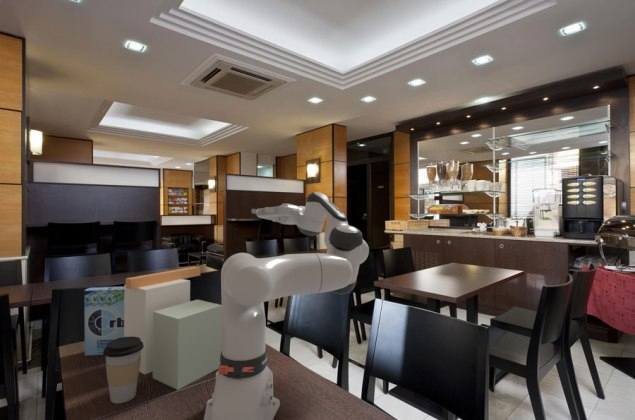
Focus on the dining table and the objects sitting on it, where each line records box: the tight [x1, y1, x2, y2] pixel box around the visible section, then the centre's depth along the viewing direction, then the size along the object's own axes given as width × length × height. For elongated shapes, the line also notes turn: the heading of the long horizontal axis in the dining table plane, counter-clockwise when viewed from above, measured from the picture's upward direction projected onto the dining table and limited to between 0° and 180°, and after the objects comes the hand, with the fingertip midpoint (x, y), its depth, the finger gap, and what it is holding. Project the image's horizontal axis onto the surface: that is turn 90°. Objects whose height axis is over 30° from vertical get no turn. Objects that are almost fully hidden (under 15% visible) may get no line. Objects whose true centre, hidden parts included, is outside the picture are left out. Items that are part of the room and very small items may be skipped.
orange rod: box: [125, 266, 201, 289], centre depth 114 cm, size 26×3×3 cm, turn 148°
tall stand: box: [124, 279, 191, 375], centre depth 111 cm, size 16×12×26 cm
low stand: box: [152, 299, 222, 391], centre depth 103 cm, size 16×12×20 cm
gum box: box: [83, 286, 124, 356], centre depth 117 cm, size 20×5×23 cm, turn 98°
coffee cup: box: [102, 337, 144, 405], centre depth 89 cm, size 9×9×15 cm
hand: (258, 210), depth 134 cm, fingers open, 8 cm apart
